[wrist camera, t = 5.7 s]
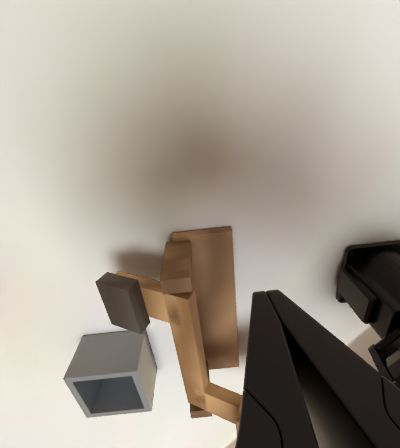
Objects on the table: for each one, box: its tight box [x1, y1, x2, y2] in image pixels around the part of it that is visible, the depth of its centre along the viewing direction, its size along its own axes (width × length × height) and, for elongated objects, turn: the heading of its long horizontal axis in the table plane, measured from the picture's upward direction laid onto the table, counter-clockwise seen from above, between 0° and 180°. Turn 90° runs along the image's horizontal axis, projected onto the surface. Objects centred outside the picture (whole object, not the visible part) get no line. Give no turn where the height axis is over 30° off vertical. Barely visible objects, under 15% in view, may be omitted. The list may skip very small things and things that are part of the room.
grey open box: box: [63, 330, 157, 418], centre depth 25 cm, size 7×7×4 cm
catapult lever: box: [96, 272, 242, 435], centre depth 19 cm, size 17×16×3 cm
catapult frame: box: [160, 227, 239, 418], centre depth 22 cm, size 6×18×6 cm, turn 6°
